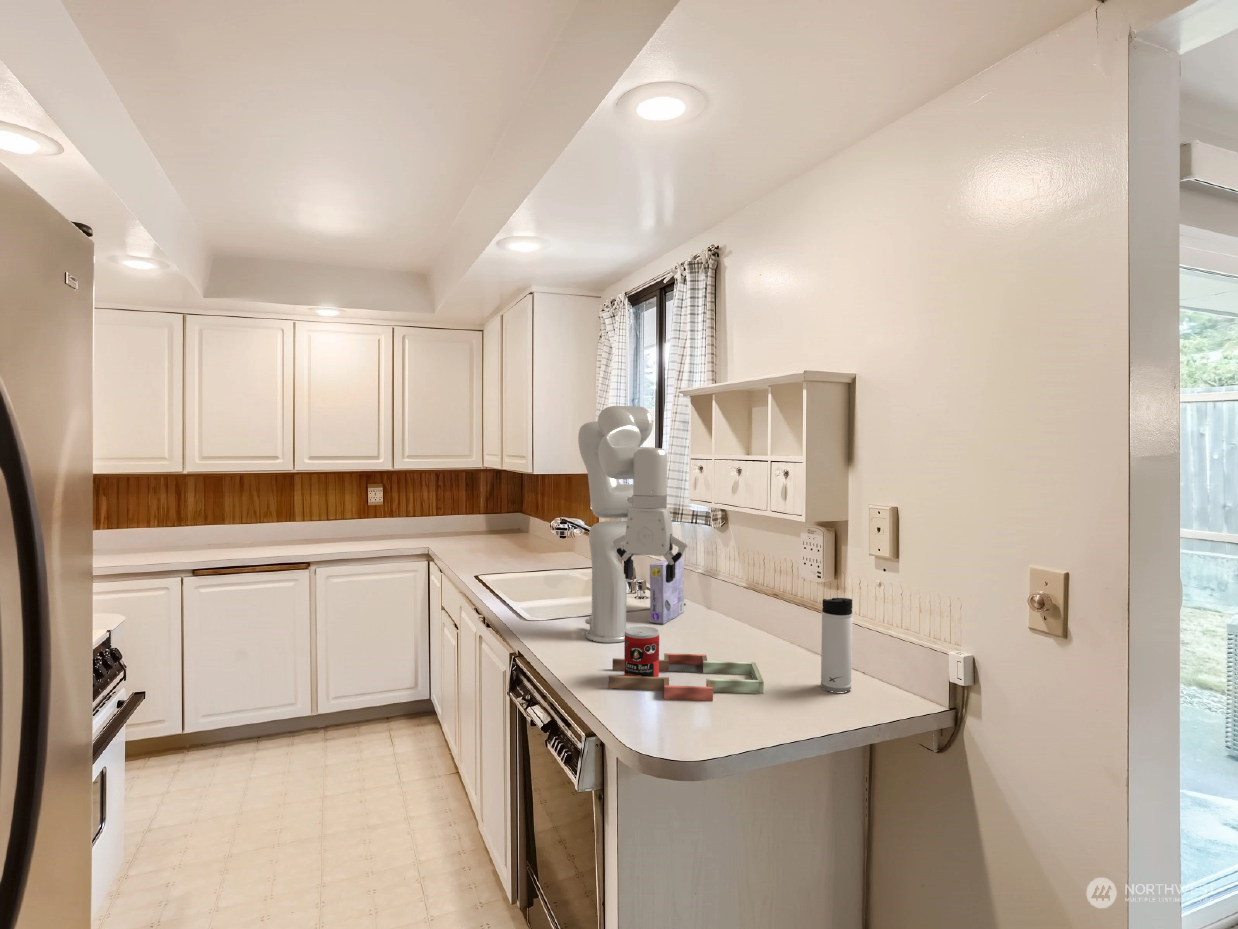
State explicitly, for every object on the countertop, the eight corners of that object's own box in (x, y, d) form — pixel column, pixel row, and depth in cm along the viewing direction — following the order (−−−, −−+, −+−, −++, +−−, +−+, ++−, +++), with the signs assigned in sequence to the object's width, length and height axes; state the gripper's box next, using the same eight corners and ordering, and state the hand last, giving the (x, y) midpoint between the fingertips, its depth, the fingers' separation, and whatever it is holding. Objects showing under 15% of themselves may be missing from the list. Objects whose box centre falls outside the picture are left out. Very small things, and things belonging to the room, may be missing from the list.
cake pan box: (671, 609, 217) (672, 554, 217) (686, 611, 215) (686, 556, 215) (648, 623, 200) (648, 564, 200) (663, 625, 198) (664, 565, 197)
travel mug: (835, 696, 142) (837, 601, 142) (814, 685, 148) (816, 595, 148) (858, 692, 145) (860, 599, 144) (837, 682, 151) (838, 592, 150)
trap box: (606, 697, 141) (606, 685, 140) (614, 662, 163) (614, 652, 163) (767, 702, 138) (767, 690, 138) (752, 666, 161) (752, 655, 161)
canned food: (619, 683, 149) (619, 633, 149) (631, 672, 157) (631, 624, 156) (652, 687, 146) (653, 637, 146) (663, 676, 154) (663, 628, 154)
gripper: (607, 503, 151) (606, 579, 151) (681, 506, 144) (680, 586, 144) (620, 500, 158) (620, 574, 158) (692, 503, 151) (691, 580, 151)
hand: (649, 579), depth 151 cm, fingers open, 9 cm apart
